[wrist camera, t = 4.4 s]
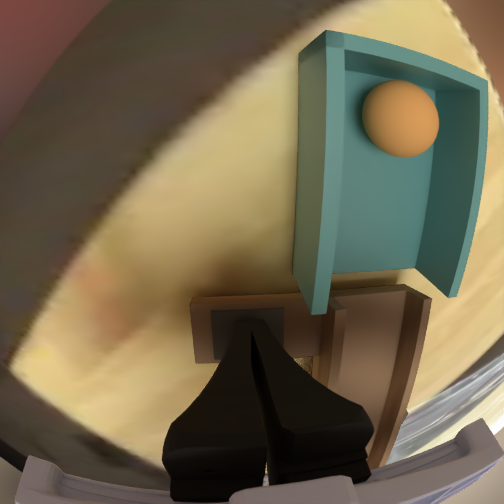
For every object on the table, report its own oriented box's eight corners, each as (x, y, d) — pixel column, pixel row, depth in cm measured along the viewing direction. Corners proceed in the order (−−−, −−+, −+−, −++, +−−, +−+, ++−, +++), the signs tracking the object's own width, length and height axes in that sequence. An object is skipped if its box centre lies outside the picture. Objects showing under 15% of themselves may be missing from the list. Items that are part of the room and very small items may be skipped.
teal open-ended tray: (420, 265, 15) (456, 296, 12) (292, 272, 14) (311, 314, 11) (440, 82, 11) (487, 80, 8) (298, 53, 10) (325, 30, 7)
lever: (361, 484, 18) (371, 505, 15) (220, 505, 17) (221, 529, 14) (412, 283, 15) (440, 297, 12) (191, 297, 14) (185, 318, 11)
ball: (461, 101, 8) (417, 81, 10) (393, 81, 8) (354, 67, 10) (442, 175, 10) (404, 144, 12) (376, 167, 10) (345, 136, 12)
